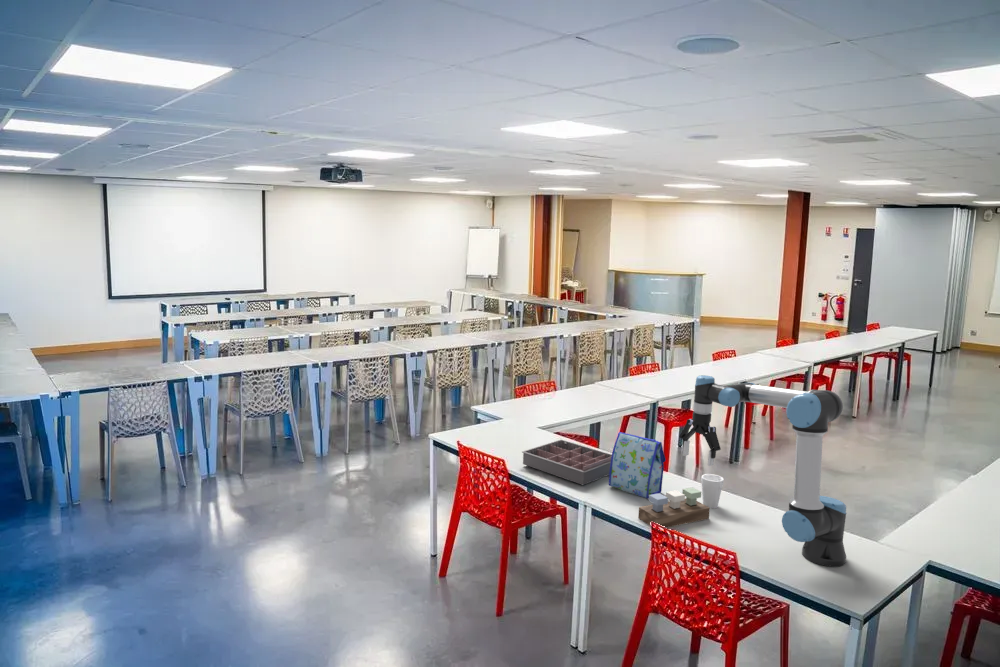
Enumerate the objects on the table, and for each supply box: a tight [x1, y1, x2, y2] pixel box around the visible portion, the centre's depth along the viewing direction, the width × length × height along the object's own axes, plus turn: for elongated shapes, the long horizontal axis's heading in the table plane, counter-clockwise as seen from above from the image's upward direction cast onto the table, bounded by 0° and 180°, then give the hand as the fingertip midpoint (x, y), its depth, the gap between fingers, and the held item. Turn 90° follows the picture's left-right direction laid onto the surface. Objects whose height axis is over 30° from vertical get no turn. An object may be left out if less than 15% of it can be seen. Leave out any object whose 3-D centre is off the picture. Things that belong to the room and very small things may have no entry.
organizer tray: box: [521, 439, 612, 486], centre depth 345 cm, size 32×40×10 cm
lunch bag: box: [608, 431, 667, 500], centre depth 319 cm, size 22×17×26 cm
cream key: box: [665, 489, 686, 509], centre depth 288 cm, size 6×6×6 cm
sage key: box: [681, 487, 702, 505], centre depth 292 cm, size 6×6×6 cm
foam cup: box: [700, 473, 725, 509], centre depth 303 cm, size 10×9×13 cm
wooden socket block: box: [637, 497, 711, 528], centre depth 289 cm, size 12×28×5 cm, turn 116°
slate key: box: [648, 493, 669, 512], centre depth 284 cm, size 6×6×6 cm
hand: (697, 460), depth 291 cm, fingers open, 13 cm apart
